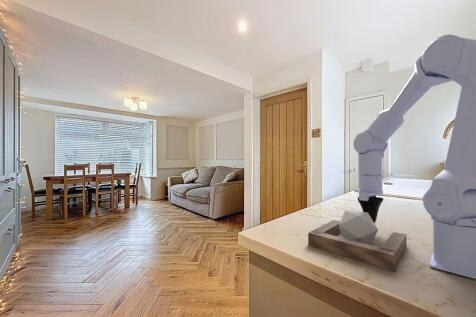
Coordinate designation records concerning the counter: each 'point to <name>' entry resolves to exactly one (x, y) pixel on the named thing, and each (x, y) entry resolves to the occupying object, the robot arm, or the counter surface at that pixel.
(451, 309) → the counter surface
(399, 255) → the pocket
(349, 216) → the die
